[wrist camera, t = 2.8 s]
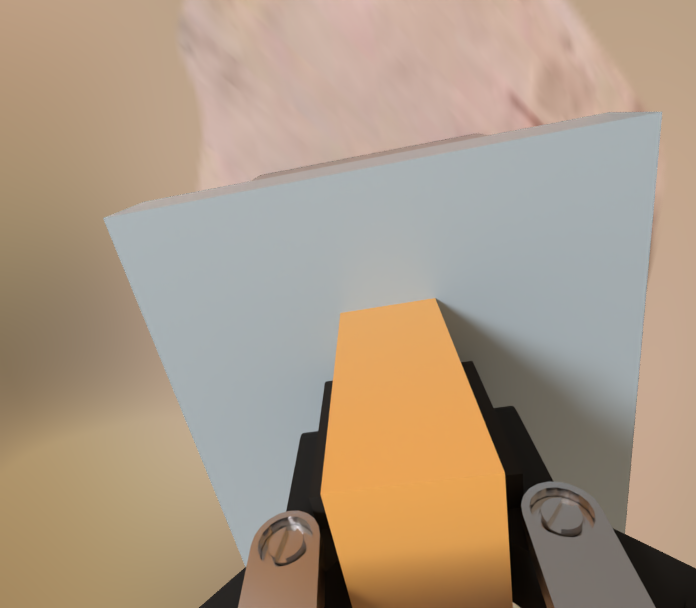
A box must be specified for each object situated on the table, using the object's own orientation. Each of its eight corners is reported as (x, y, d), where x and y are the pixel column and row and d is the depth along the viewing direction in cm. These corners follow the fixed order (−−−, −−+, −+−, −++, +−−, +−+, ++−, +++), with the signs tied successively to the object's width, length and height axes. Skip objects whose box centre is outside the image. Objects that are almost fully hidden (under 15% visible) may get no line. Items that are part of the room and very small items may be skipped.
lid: (592, 482, 16) (787, 792, 9) (260, 519, 18) (186, 818, 10) (609, 112, 11) (1086, 107, 4) (144, 201, 13) (-172, 327, 5)
